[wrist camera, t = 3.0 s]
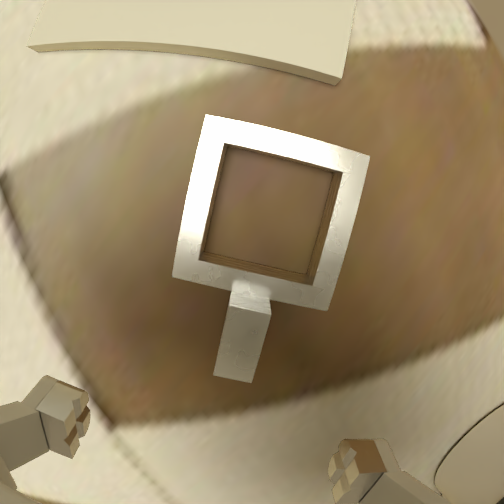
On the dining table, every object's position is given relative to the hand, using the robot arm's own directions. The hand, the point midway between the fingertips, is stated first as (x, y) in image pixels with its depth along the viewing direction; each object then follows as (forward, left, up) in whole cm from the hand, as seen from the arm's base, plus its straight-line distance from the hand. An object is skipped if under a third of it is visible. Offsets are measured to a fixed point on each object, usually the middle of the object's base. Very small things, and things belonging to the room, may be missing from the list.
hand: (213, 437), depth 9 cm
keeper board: (+7, -21, -11) cm, 25 cm away
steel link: (-1, -4, -11) cm, 11 cm away
